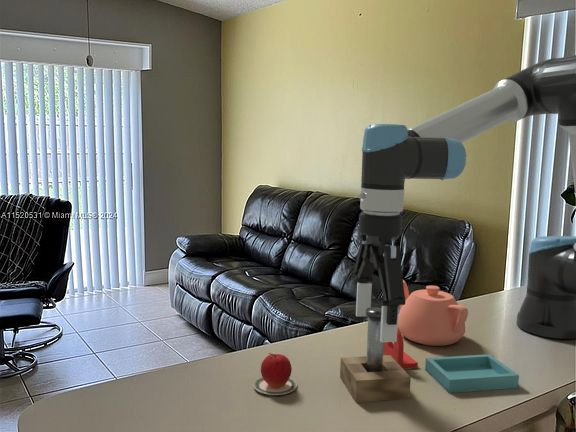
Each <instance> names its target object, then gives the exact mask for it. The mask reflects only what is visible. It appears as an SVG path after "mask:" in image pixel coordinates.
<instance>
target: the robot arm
mask: <svg viewBox="0 0 576 432" xmlns="http://www.w3.org/2000/svg"><path fill="white" fill-rule="evenodd" d="M537 115H539V116H540V115H557V116H558V117H557V118H558V119H557V120H558V125H559V127H560V128H561V129H563V130H564V131H566V132H567V134H568V139H569V149H570V159H571V165H572V166H571V167H572V176H573V177H572V178H573V186H574V195H575V196H576V54H574V55H568V56H563V57H554V58H549V59H545V60H543V61H540V62H537V63H534V64H532V65H530V66H528V67H526V68H523V69H521V70H520V71H518V72H516V73H513V74H512V75H509V76H507V77H506V78H503V79H502V80H500V81H498V82H497V83H496V84H495V85H494V87H493V89H491V90H489V91H487V92H485V93H482V94H480V95H479V96H478V95H477V96H476V97H474V98H472V99H470V100H467V101H465V102H463V103H461V104H459V105H456V106H454V107H453V108H450V109H447V110H445V111H444V112H442V113H439V114H437V115H436V116H435V115H434V116H433V117H431V118H428V119H427V120H424V121H422V122H420V123H418V124H416V125H414V126H411V127H410V128H408V127H407V126H406V125H405V124H399V123H398V124H397V123H394V124H393V123H371V124H368V125H367V126H365V129H364V134H363V140H362V147H361V155H362V156H361V157H362V158H361V179H360V180H361V181H360V182H361V184H360V193H358V194H357V197H358V199H359V200H360V202H359V203H360V205H359V208H360V210H361V212H360V213H359V217H358V218H359V220H358V232H359V233H360V242H359V247H358V252H357V256H356V259H355V265H354V269H353V276H354V277H355V279H356V282H357V283H356V298H355V299H356V300H355V301H356V303H355V316H356V317H367V316H366V309H367V308H371V306H372V305H371V304H372V289H373V287H372V286H373V283H372V282H374V277H373V274H374V272H375V270H376V271H377V272H378V278H379V282H380V287H381V288H380V289H381V291H382V297H383V300H382V301H381V303H380V306H381V308H382V312H381V330H380V341H381V342H393V343H394V342H397V327H398V316H399V311H400V310H399V309H400V305H405V293H404V285H403V280H404V278H403V277H404V276H403V271H402V270H403V269H402V262H401V250H402V249H401V246H400V245H393V238H395V237H398V236H400V235H401V234H402V229H403V216H402V214H401V213H402V212H403V211H404V202H405V201H404V198H405V181H406V180H410V179H415V180H440V181H444V180H453V179H455V178H457V177H459V176H460V175H461V174H462V173H463V172H464V170H465V167H466V165H467V152H466V151H467V150H466V148H465V145H464V144H463V143H464V142H467V141H468V140H471V139H473V138H475V137H477V136H479V135H481V134H484V133H485V132H488V131H489V130H492V129H494V128H495V127H498V126H500V125H503V124H504V123H506V122H508V121H509V122H518V121H520V120H523V119H525V118H528V117H531V116H537ZM529 249H530V250H529V251H528V264H527V265H528V269H527V283H526V294H525V297H524V299H523V301H522V304H521V306H520V308H519V311H518V312H517V315H516V326H517V327H518V328H520V329H521V330H522V331H525V332H528V333H530V334H533V335H537V336H540V337H545V338H551V339H562V340H563V339H565V340H569V339H570V340H571V339H573V340H574V339H576V236H573V235H569V236H568V235H551V236H550V235H548V236H547V235H546V236H536V237H535V238H533V239H532V241H531V243H530V248H529Z"/></svg>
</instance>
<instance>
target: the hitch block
mask: <svg viewBox="0 0 576 432" xmlns="http://www.w3.org/2000/svg"><path fill="white" fill-rule="evenodd" d="M366 357H367V355H366V356H363V355H362V356H351V357H350V356H347V357H340V363H339V364H340V367H339V370H340V371H339V379H340V380H341V381H342V384H343V385H344V386H345V388H346V389H347V392H349V394H350V395H351V397H352V399H353V401H354V402H355V403H365V402H377V401H392V400H403V399H404V400H405V399H407V400H409V399H410V398H411V397H410V396H411V381H412V380H411V376H410V374H408V373H407V372H406V369H403V368H402V367H401V366H400V365H399V364H398V363H397V362H396V361H395V360H394V359H393V358H392V356H391V355H383V369H382V371H380V372H367V371H366Z"/></svg>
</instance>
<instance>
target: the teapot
mask: <svg viewBox="0 0 576 432" xmlns="http://www.w3.org/2000/svg"><path fill="white" fill-rule="evenodd" d="M407 284H408V283H407V282H406V281H405V280H404V279H403V285H404V293H405V305H400V306H399V309H400V310H399V311H398V326H397V327H398V328H399V330H400V332H401V334H402V336H403V337H405V338H406V339H408V340H409V341H411V342H413V343H418V344H421V345H426V346H433V347H443V346H449V345H453V344H455V343H458V341H460V339H462V337H464V335H465V333H466V321H467V319H468V315H469V310H468V308H467V307H466V306H465V305H459V303H458V302H457V300H456V298H455V296H454V295H452V294H451V293H448V292H447V291H442V290H441V289H440V287H439V286H437V285H426V286H425V289H424V288H423V289H418V290H415V291H414V290H413V291H412V292H411V293H410V292H409V287H408V285H407Z"/></svg>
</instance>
